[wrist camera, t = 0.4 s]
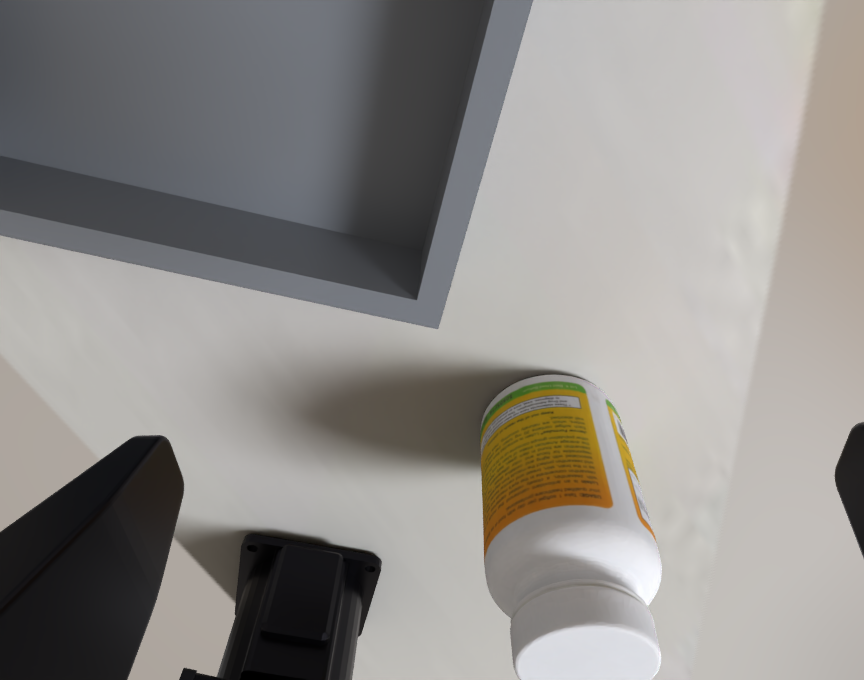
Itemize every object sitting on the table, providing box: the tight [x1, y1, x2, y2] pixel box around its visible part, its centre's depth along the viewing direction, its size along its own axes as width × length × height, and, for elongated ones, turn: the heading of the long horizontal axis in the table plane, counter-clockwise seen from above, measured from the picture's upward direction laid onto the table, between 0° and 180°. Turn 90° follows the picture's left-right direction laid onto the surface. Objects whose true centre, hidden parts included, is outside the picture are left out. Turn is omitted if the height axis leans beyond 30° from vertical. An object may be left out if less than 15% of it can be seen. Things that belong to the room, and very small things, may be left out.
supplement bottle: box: [480, 375, 662, 680], centre depth 22 cm, size 5×5×10 cm
